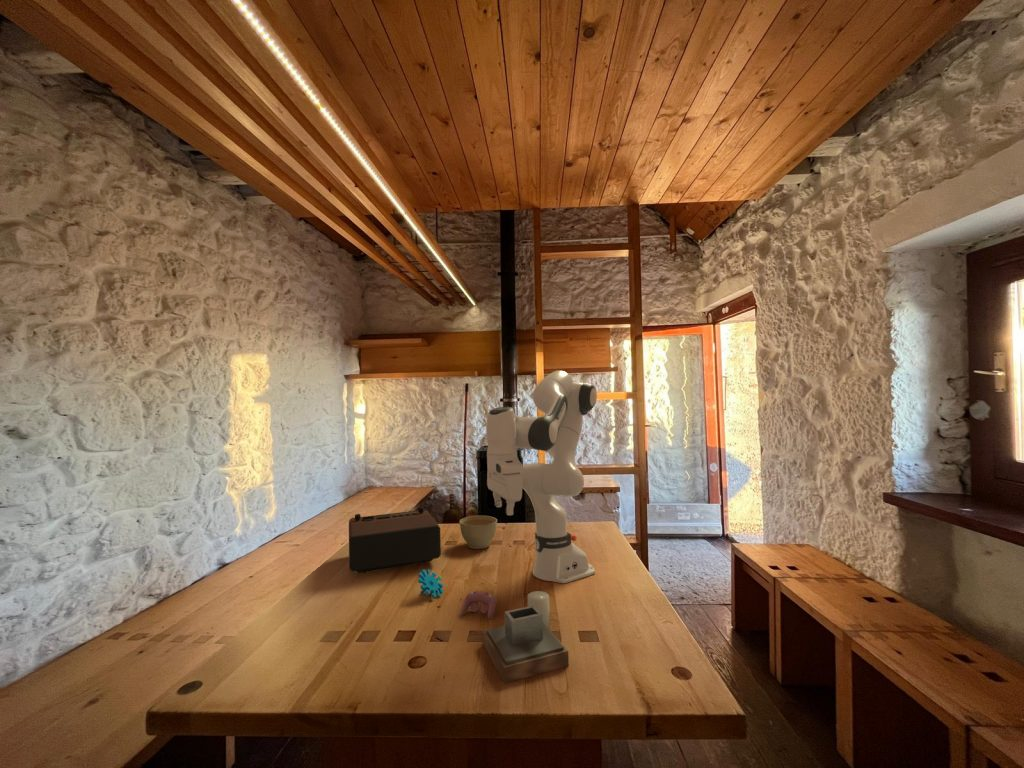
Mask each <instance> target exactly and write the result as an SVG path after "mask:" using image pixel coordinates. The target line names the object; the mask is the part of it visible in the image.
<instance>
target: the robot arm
mask: <svg viewBox="0 0 1024 768" xmlns="http://www.w3.org/2000/svg"><path fill="white" fill-rule="evenodd" d="M597 397H598V395H597V389H596V387H595V386H594V384H591V383H588V382H580V381H573V378H572V377H571V375H570V374H569V373H567V372H566V371H563V370H560V369H559V370H558V369H557V370H555V371H553V372H551V373H549V374H548V375H547V376H545V377H544V378H542V380H540V381H539V383H538V384H537V385H536V386H535V387H534V389H533V391H532V400H533V403H534V405H535V407H536V409H538V410H539V411H540V412H542V413H544V414H546V415H544V416H519V415H518V414H516V413H515V411H514V408H513V407H510V406H500V407H495V408H492V409H491V410H489V411H488V412H487V418H486V442H487V450H486V464H487V465H486V466H487V469H486V470H487V475H486V478H487V479H486V486H487V488H488V490H490V491H491V492H492V496H493V499H494V506H495V507H496V508H502V506H503V501H502V498H503V499H504V500H505V503H506V508H505V514H506V515H507V516H513V515H514V508H515V503H516V502H520V501H521V500H522V498H523V490H524V491H525V492H526V494H527V495H528V497H529V499H530V502H531V503H532V506H533V510H534V516H535V533H534V546H535V547H534V548H535V557H534V558H535V559H534V564H533V569H532V575H533V576H534V577H535V578H537V579H539V580H543V581H549V582H556V583H559V584H567V583H570V582H573V581H576V580H579V579H582V578H586V577H589V576H592V575H594V574H596V570H595V567H594V566H593V564H591V563H589V560H588V556H587V554H586V553H585V551H584V550H582V549H581V548H579V547H578V546H577V545H576V544H574V543H573V542H576V541H577V536H576V535H575V534H573V533H572V534H571V533H570V532H568V531H567V530H568V529H567V528H568V527H567V513H566V510H565V508H564V507H563V506H562V505H560V504H559V502H557V500H556V497H562V498H568V497H569V498H571V497H577V496H579V495H580V493H582V491H583V488H584V485H585V479H584V478H585V477H584V475H583V473H582V471H581V470H580V469H579V468H578V466H577V464H576V458H575V457H576V451H577V447H578V443H579V440H580V437H581V433H582V429H583V428H582V427H583V422H584V421H583V420H584V419H583V416H586V415H587V414H588V413H589V412H590V411H591V410H593V408H594V407H595V405H596V403H597ZM518 449H526V450H538V451H543V452H546V451H547V453H548V454H549V455H550V456H551V457H552V458H553V460H552V463H544V462H543V463H542V462H531V463H525V464H522V462H521V461H520V460H519V457H518Z"/></svg>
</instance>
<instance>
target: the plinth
mask: <svg viewBox="0 0 1024 768" xmlns="http://www.w3.org/2000/svg"><path fill="white" fill-rule="evenodd" d="M482 632H483V633H482V634H483V636H482V637H483V638H482V639H483V647H484V649H485V650H486V651H487V654H488V656H489V658H490V659H491V661H492V663H493V664H494V667H495V668H496V670H497V672H498V674H499V676H500V677H501V679H502V681H503V683H504V684H507V683H511V682H513V681H518V680H521V679H522V680H523V679H526V678H529V677H533V676H537V675H540V674H544V673H546V672H552V671H553V670H557V669H561V668H565V667H569V666H570V665H569V663H570V662H569V659H570V657H569V649H568V648H566V647H565V645H564V644H563V643H562V642H561V641H560V639H559V638H558V637H557V636H556V635H555V634H554V633H553V632H552V630H551V629H550V627H549V628H548V627H547V626H546V625H545V624H544V623H543V640H539V641H535V642H531V643H527V644H523V645H519V646H515V647H512V646H511V644H510V643H509V641H508V640H507V638H506V637H505V625H503V626H498V627H494V628H489V629H486V630H483V631H482Z"/></svg>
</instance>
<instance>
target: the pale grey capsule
mask: <svg viewBox="0 0 1024 768" xmlns="http://www.w3.org/2000/svg"><path fill="white" fill-rule="evenodd" d="M529 606H535V607H536V608H537V609H538V610H539V611H540V612H541V614H542V619H543V623H544V624H545V625H546V626H547V627H548V628H549V629H550V625H551V624H550V623H551V622H550V619H551V618H550V616H551V615H550V594H549V593H548V592H545V591H541V590H536V591H531V592H530V593H528V594H527V607H529Z"/></svg>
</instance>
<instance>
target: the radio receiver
mask: <svg viewBox="0 0 1024 768" xmlns="http://www.w3.org/2000/svg"><path fill="white" fill-rule="evenodd" d="M441 543H442V542H441V527H440V526H439V524H438V522H437V520H436V519H434V517H433V516H432V515H431V514H430V513H429V511H428V510H427V509H424V506H419V507H418V510H409V511H403V512H402V511H400V512H392V513H385V514H375V515H366V516H361V514H360V513H356V514H355V515H354V517H352V518H349V520H348V558H349V559H348V562H349V563H348V565H349V566H348V567H349V570H350V571H351V572H356V573H358V574H361V573H362V574H366V573H369V572H373V571H374V572H375V571H381V570H387V569H393V568H399V567H400V568H401V567H405V566H411V565H412V566H413V565H419V564H426V563H431V562H432V561H433V560H435V559H439V558H440V557H441V553H442V552H441V551H442V550H441V548H442V547H441Z"/></svg>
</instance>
